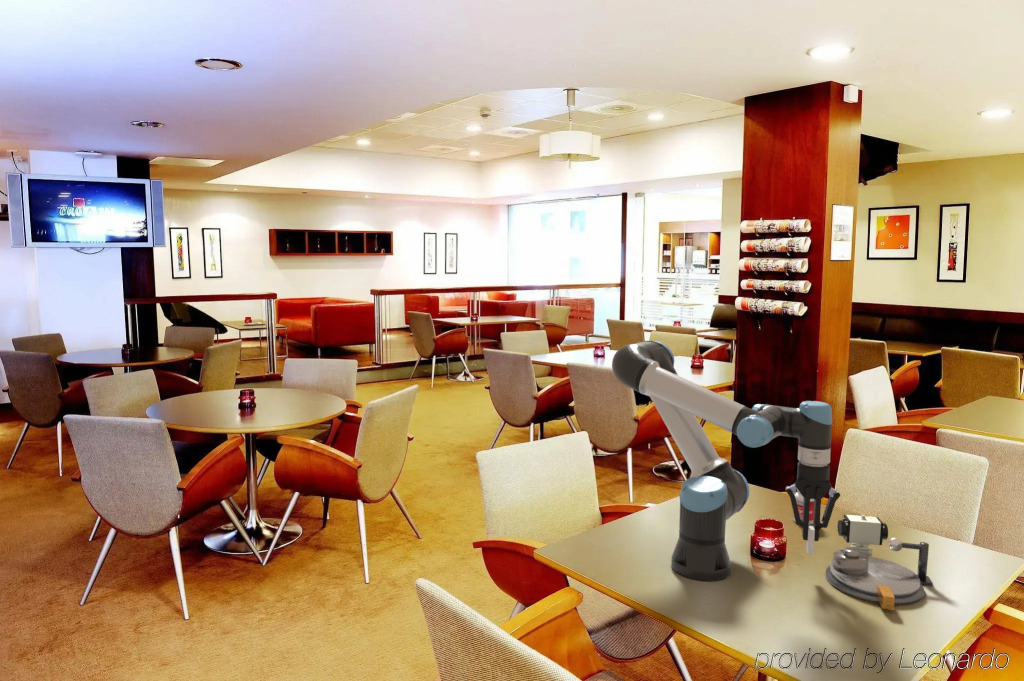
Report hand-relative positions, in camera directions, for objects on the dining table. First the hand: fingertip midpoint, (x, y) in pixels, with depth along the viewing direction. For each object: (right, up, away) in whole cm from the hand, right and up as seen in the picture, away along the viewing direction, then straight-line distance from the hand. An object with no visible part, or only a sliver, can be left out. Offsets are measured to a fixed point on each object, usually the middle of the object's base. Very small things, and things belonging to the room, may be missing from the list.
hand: (809, 552), depth 177 cm
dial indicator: (+25, -7, -1) cm, 25 cm away
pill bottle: (+14, -2, +38) cm, 41 cm away
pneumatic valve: (+19, -5, +13) cm, 24 cm away
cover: (+9, -4, -2) cm, 10 cm away
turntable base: (+15, -7, -3) cm, 16 cm away
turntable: (+14, -6, -6) cm, 16 cm away
